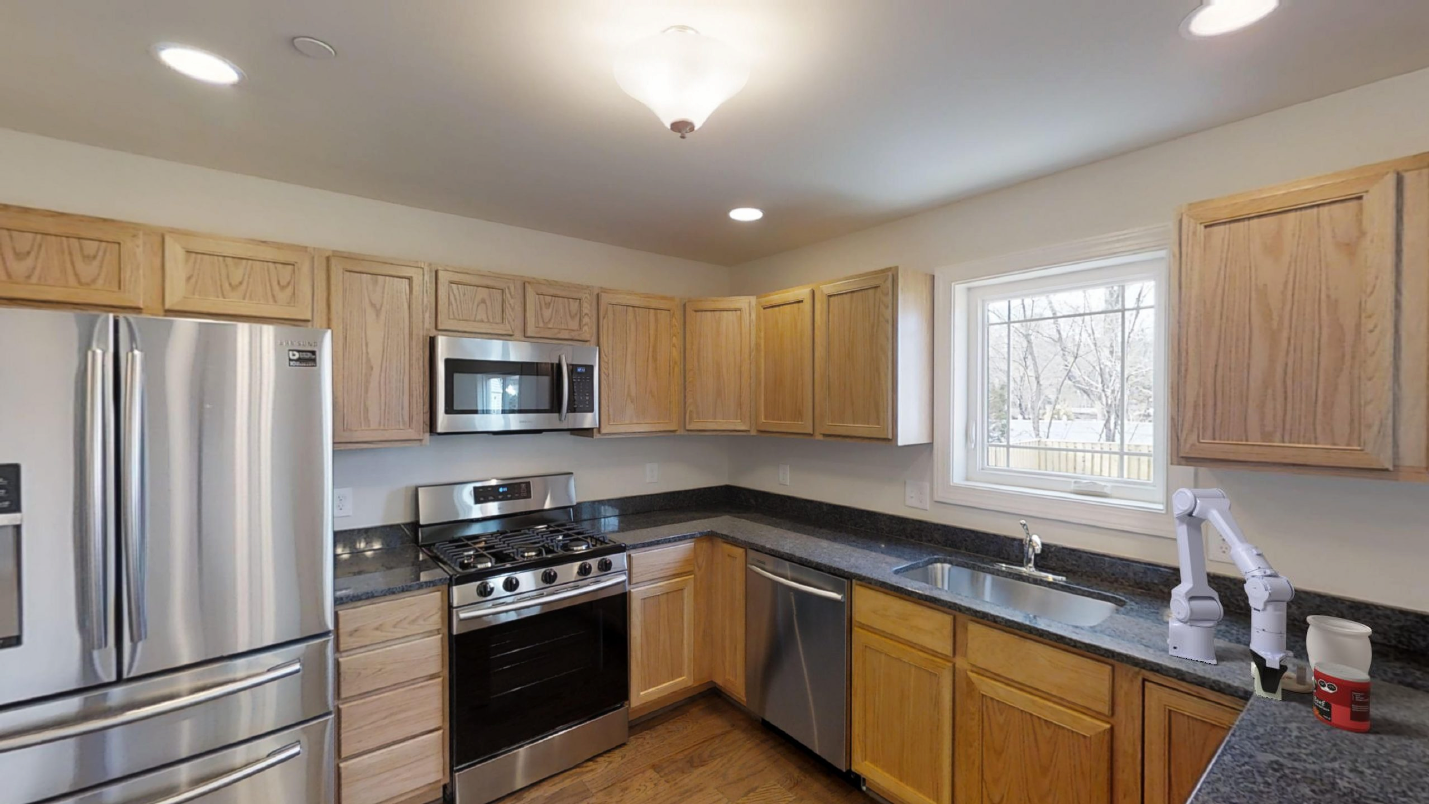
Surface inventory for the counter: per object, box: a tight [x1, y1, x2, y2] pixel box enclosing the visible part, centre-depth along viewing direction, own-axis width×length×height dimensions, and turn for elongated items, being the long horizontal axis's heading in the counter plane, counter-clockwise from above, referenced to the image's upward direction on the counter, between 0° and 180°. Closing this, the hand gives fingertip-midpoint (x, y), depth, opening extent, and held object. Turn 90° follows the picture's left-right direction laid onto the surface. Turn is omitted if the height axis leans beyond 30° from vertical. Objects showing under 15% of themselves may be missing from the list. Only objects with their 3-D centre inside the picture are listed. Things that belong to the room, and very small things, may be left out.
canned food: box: [1312, 662, 1371, 734], centre depth 120 cm, size 8×8×11 cm
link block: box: [1253, 667, 1282, 701], centre depth 132 cm, size 4×4×5 cm
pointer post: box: [1250, 661, 1256, 678], centre depth 139 cm, size 2×2×4 cm
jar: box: [1305, 615, 1373, 682], centre depth 136 cm, size 11×10×15 cm
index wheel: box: [1281, 664, 1314, 694], centre depth 136 cm, size 8×8×6 cm
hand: (1267, 688), depth 132 cm, fingers closed on link block, 4 cm apart
